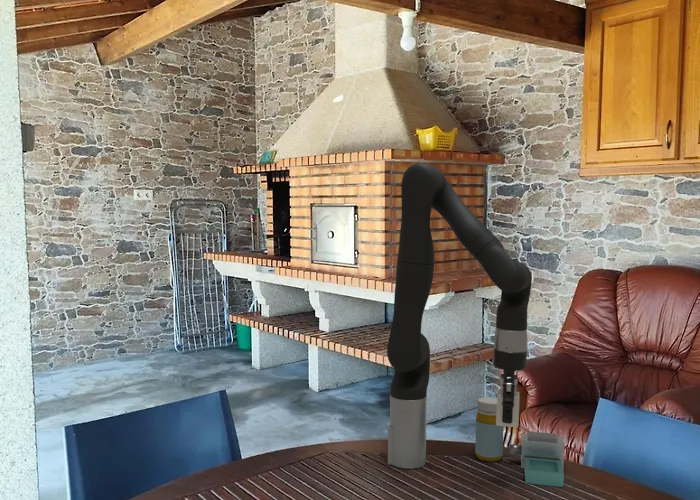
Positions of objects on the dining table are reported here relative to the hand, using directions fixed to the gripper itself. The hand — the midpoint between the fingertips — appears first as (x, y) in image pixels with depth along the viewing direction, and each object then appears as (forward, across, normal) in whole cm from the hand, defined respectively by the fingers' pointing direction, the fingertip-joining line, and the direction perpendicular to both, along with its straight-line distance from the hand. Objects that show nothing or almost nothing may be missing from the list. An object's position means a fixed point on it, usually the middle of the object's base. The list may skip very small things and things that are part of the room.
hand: (507, 418), depth 147 cm
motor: (+15, -8, +8) cm, 18 cm away
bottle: (+15, -14, -4) cm, 21 cm away
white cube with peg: (+1, 0, 0) cm, 1 cm away
